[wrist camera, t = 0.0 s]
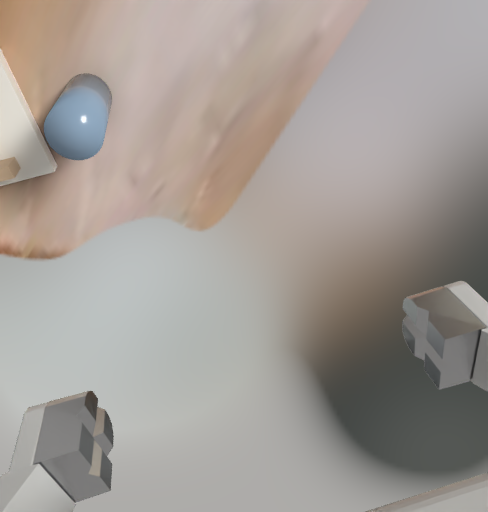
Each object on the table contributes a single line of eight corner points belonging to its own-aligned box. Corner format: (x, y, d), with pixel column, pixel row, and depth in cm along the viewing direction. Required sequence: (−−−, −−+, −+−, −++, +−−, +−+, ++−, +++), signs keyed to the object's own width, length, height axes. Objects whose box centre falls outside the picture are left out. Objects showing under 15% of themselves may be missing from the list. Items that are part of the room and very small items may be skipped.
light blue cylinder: (58, 79, 49) (33, 112, 38) (102, 68, 49) (90, 97, 38) (76, 123, 52) (59, 166, 41) (118, 112, 52) (112, 152, 41)
